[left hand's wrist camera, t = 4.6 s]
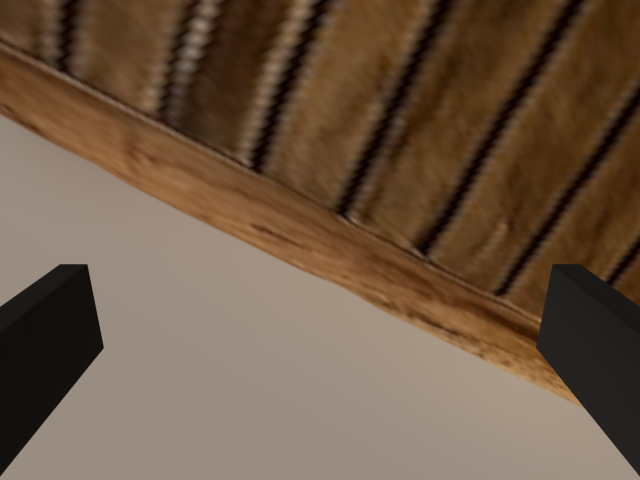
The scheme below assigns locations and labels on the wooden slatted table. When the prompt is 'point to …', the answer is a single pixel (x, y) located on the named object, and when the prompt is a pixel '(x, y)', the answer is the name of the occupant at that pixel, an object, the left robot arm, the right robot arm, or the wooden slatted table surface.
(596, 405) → the left robot arm
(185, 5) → the wooden slatted table surface
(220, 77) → the wooden slatted table surface
